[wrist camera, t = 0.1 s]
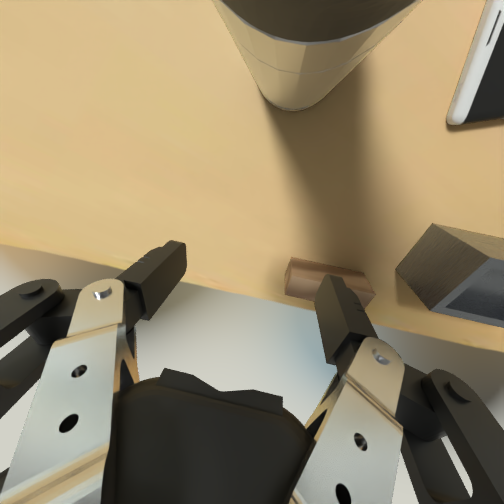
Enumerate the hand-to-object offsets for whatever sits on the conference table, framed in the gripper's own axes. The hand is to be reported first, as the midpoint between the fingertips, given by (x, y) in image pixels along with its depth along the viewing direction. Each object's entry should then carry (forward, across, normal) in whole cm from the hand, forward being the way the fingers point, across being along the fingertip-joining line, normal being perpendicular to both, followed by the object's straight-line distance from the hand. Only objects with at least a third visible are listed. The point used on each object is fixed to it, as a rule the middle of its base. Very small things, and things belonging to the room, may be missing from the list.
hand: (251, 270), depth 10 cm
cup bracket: (+17, -30, +3) cm, 34 cm away
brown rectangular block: (+18, -12, +11) cm, 24 cm away
